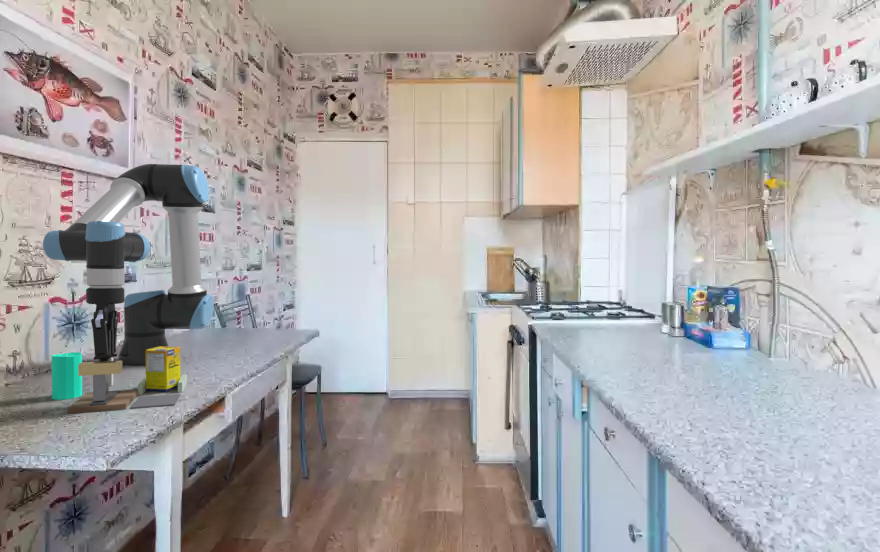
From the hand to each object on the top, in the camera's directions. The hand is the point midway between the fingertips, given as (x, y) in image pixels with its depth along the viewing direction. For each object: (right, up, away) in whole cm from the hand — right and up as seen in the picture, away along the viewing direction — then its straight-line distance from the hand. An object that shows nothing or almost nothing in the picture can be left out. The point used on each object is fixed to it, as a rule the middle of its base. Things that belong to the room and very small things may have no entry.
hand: (105, 385), depth 116 cm
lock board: (0, -4, 0) cm, 4 cm away
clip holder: (+7, -4, +13) cm, 15 cm away
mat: (+11, -4, +2) cm, 12 cm away
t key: (+2, -2, -4) cm, 5 cm away
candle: (-13, -4, +5) cm, 14 cm away
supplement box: (+7, -4, +13) cm, 15 cm away
